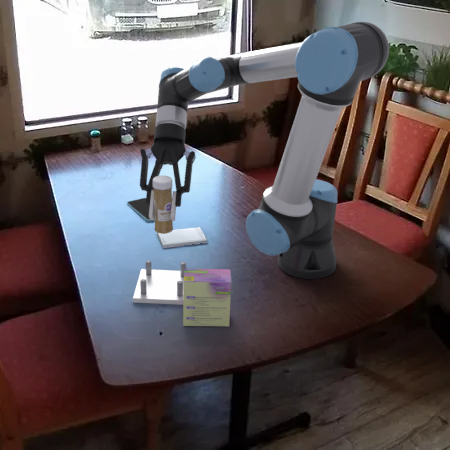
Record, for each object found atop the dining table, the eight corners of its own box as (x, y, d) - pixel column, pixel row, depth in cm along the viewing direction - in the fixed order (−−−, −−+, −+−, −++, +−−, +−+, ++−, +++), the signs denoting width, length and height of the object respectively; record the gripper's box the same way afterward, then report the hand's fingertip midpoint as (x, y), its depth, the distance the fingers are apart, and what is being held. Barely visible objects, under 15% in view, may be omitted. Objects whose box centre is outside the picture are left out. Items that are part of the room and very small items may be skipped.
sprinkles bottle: (165, 236, 152) (164, 184, 146) (150, 231, 154) (148, 179, 148) (177, 228, 156) (176, 177, 149) (161, 223, 158) (160, 173, 151)
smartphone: (147, 197, 201) (169, 214, 190) (147, 200, 201) (169, 218, 190) (125, 201, 197) (147, 220, 186) (125, 205, 198) (147, 223, 187)
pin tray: (192, 275, 162) (193, 259, 160) (188, 304, 150) (188, 287, 148) (141, 273, 162) (140, 257, 160) (133, 302, 150) (132, 285, 148)
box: (228, 312, 148) (230, 268, 143) (229, 327, 143) (231, 282, 138) (183, 311, 148) (183, 267, 142) (182, 326, 143) (182, 281, 137)
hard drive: (162, 244, 173) (207, 239, 176) (156, 231, 180) (199, 226, 183) (162, 250, 174) (207, 244, 177) (156, 236, 181) (199, 231, 184)
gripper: (206, 136, 161) (200, 225, 154) (137, 133, 162) (127, 221, 155) (204, 122, 154) (197, 215, 147) (132, 119, 155) (122, 211, 148)
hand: (161, 218), depth 151 cm, fingers closed on sprinkles bottle, 4 cm apart
